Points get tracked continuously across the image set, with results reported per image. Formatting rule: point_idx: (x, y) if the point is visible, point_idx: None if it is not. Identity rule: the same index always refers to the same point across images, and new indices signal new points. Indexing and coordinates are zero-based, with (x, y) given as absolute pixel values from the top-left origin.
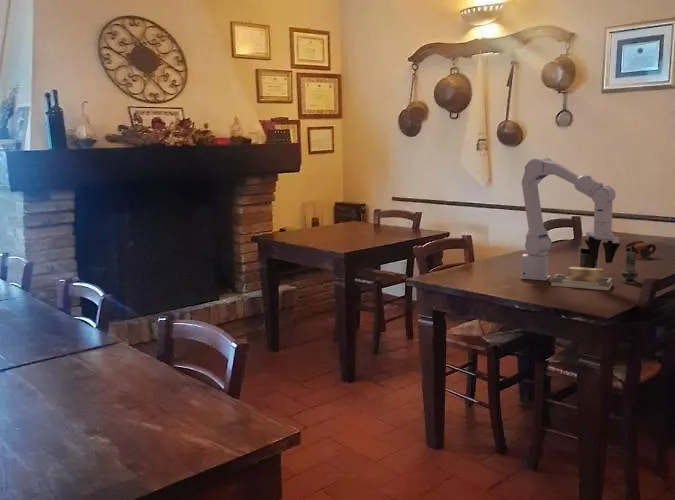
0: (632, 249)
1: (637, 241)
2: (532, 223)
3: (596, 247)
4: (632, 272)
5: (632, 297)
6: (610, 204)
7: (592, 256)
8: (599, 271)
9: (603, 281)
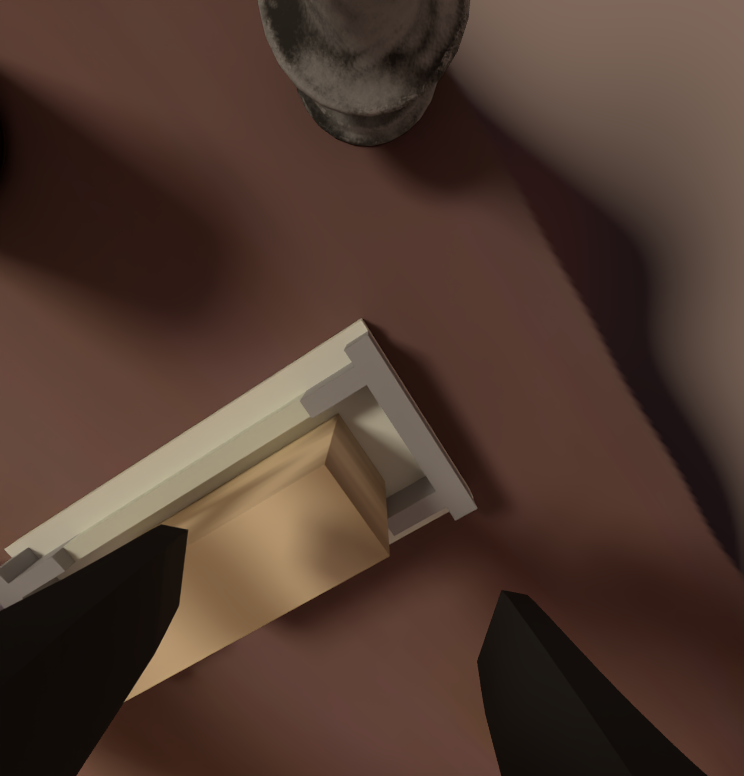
0: None
1: None
2: None
3: (9, 749)
4: (432, 38)
5: (696, 526)
6: None
7: (152, 647)
8: (369, 560)
9: (422, 515)
